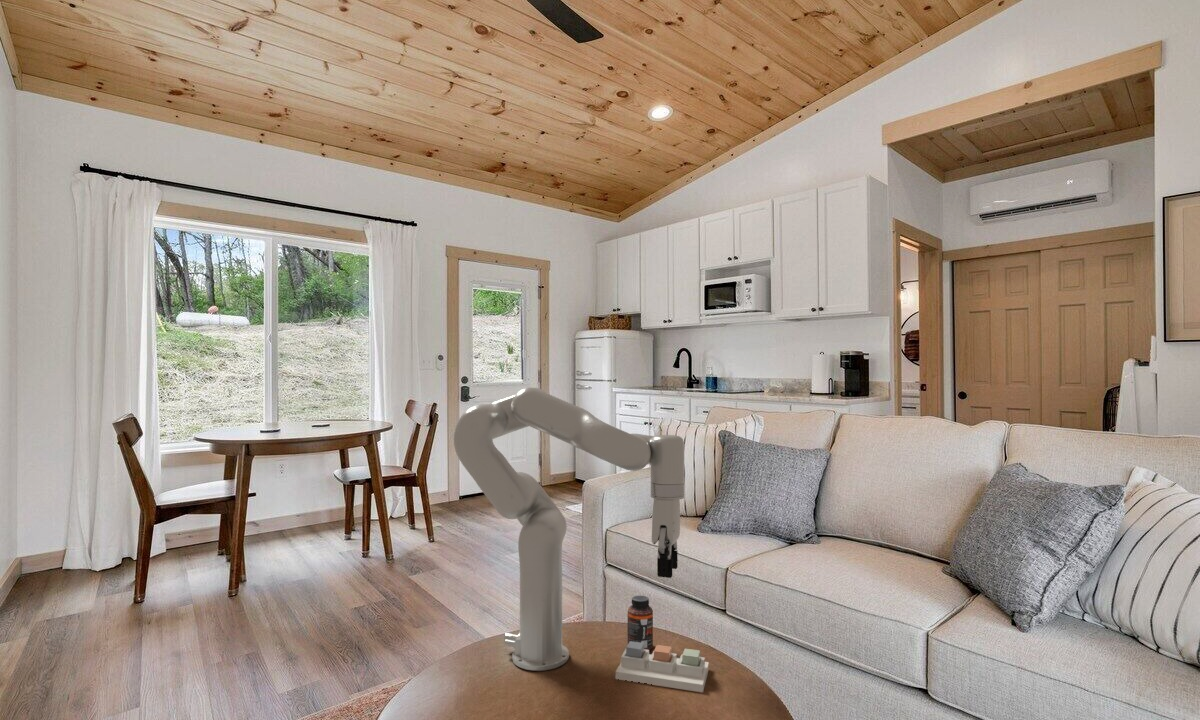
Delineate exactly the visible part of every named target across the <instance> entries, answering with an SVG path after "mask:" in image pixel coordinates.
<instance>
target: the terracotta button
mask: <svg viewBox="0 0 1200 720" xmlns="http://www.w3.org/2000/svg"><path fill="white" fill-rule="evenodd" d="M653 651H654V660H656V661H663V662H670V661H671V659H672V653H673V652H672V651H673V649H672V646H669V645H668V646H667V645H662V644H661V645H660V644H656V646H655V648H654V649H653Z"/></svg>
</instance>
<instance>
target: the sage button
mask: <svg viewBox="0 0 1200 720" xmlns="http://www.w3.org/2000/svg"><path fill="white" fill-rule="evenodd" d="M700 657H701V650H697V649H692V648H691V649H690V648H684V650H683V652H682V664H685V665H692V666H699V664H700Z"/></svg>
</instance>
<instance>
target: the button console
mask: <svg viewBox="0 0 1200 720" xmlns="http://www.w3.org/2000/svg"><path fill="white" fill-rule="evenodd" d="M682 655H683V653H682V654H681V655H680V656H679V657H677V653H675V652H672V659H671V661H670V662H663V661H656V660H654V650H653V651H652V653H651V654H650V650H646V649H644V655H643V657H642V658H635V657H628V656H626V648H625V649H624V651H623V653H622V655H621V656H620V663H619V665H618V666H617V668H616V670H615V678H614V679H615V680H618V679H619V681H625V680H627V681H626V682H631V681H633V682H632V683H638V682H640V683H639V684H644V683H647V684H646V685H651V684H652V685H653V686H657V687H663V688H664V687H665V688H669V689H670V688H672V689H675V690H677V689H678V690H685V691H691V692H695V693H704V690H705V687H706V683H707V682H706V681H707V678H708V674H709V670H710V667H709V666H710V665H709V664H710V663H709V661H706V657H705V656H704V657H702V656H700V664H699V666H692V665H685V664H682Z"/></svg>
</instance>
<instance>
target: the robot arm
mask: <svg viewBox="0 0 1200 720" xmlns="http://www.w3.org/2000/svg"><path fill="white" fill-rule="evenodd" d="M527 427H531V428H532V429H535V430H537V431H540V432H542V433H545V434H547V435H549V436H551V437H553V438H556V439H557V440H561V441H563V442H565V443H567V444H569V445H572V447H575V448H577V449H579V450H582V451H584V452H586V453H588V454H590V455H592V456H594V457H595V458H598V459H600V460H602V461H605V462H606V463H607V462H608V463H609V464H611V465H614V466H616V467H618V468H621V469H623V470H626V471H631V472H637V471H641V470H643V469H644V468H645V467H646V466H647V465H649V466H650V498H651V499H653V502H652V503H653V505H652V519H651V520H652V521H651V544H653V545H656V544H657V543H658V544H657V558H656V559H657V560H656V561H657V563H656V565H657V568H656V571H657V577H659V578H668V579H671V578H672V577H673V570H676V569H678V542H677V540H678V539H679V538H680V532H681V506H680V505H681V501H680V500H682V499H685V442H684V439H683V438H682V436H679V435H674V434H659V435H647V434H641V433H629V432H627V431H625V430H622V429H620V428H617V427H615V426H613V425H611V424H608V423H606V422H605V421H603V420H601V419H599V418H597V417H596V416H594V415H593V414H592V413H591V412H589V411H588V410H586V409H584V408H583V407H580V406H578V405H576V404H572V403H570V402H568V401H566V400H563V399H561V398H559V397H556V396H554V395H552V394H550V393H547V392H546V391H545V390H543V389H541V388H539V387H528V386H527V387H524V388H521V389H520V390H518V391H517V392H516V393H515V394H514V395H511V396H508V397H506V398H503V399H502V398H501V399H499V400H497V401H493V402H491V403H481V404H477V405H472V406H471V407H469V408H468V409H466V410H465V411H464V412H463V413H462V414H461V416H460V417H459V419H458V421H457V423H456V425H455V430H454V434H453V446H454V450H455V453H456V455H457V457H458V460H459V461H460V462H461V464H462V466H463V467H464V468H465V470H466V471H467V472H468V474H469V475H470V476H471V478H472V479H473V480H474V482H475V483H476V485H477V486H478V488H479V489H480V490H481V492H482V493H483V495H485V497H486V498H487V500H488V501H489V502H490V503H491V505H492V506H493V508H494V509H495V511H497V513H498V515H500V516H501V517H503V518H505V519H507V520H517V521H518V522H519V524H520V525H521V526H522V527H521V529H520V532H519V535H518V543H517V545H518V560H519V633H518V634H515V633H511V632H510V633H509V632H505V634H504V637H503V641H504V643H503V644H504V647H510V648H511V647H513V649H514V650H513V652H512V654H511V656H512V659H511V660H512V662H513V664H514V665H515V666H517V667H519V668H521V669H523V670H527V671H536V672H537V671H539V672H541V671H550V670H555V669H557V668H559V667H561V666H563V665H564V664H565V663H567V662H568V660H569V657H570V656H569V655H570V652H569V648H568V647H566V646H565V645H563V553H562V552H563V549H562V548H563V542H564V539H565V536H566V534H567V527H568V525H567V521H566V518H565V515H564V514H563V513H562V511H561V510H560V509H559V507H558V506H557V505H556V504H555V502H554V501H553V500H552V498H551V497H550V495H549V493H547V492H546V491H545V489H544V488H543V487H542V486H541V484H540V483H539V481H537V480H536V479H535V478H534V477H533V476H532V475H530V474H529V473H526V472H523V471H522V472H520V471H519V472H518V471H516V470H515V468H514V467H513V466H512V465H511V464H510V462H509V461H508V459H507V458H506V457H505V455H504V454H502V452H501V451H500V450H499V449H498V448H497V447H496V445H495V444H494V442H493V440H494V439H497V438H500V437H502V436H504V435H508V434H510V433H512V432H517V431H519V430H522V429H524V428H527Z"/></svg>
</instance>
